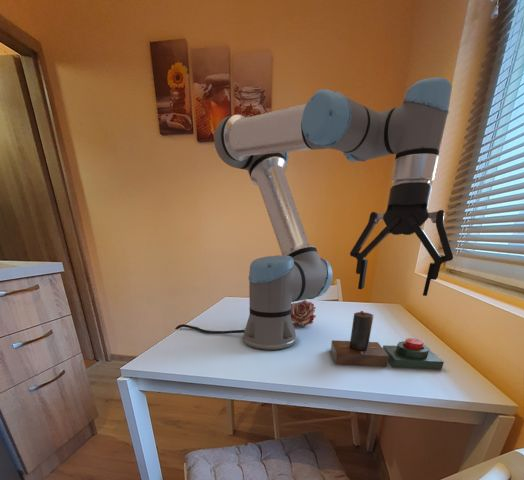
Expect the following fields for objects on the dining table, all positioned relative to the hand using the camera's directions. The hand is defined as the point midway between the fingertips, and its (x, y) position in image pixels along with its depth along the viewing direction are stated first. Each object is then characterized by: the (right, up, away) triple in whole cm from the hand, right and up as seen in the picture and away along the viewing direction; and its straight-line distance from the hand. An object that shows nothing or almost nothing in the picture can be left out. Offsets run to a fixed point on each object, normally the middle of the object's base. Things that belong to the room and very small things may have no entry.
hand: (391, 291), depth 63 cm
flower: (-16, -5, +32) cm, 36 cm away
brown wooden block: (-5, -16, +7) cm, 18 cm away
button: (+8, -13, +5) cm, 16 cm away
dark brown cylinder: (-5, -13, +6) cm, 15 cm away
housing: (+8, -16, +6) cm, 19 cm away
